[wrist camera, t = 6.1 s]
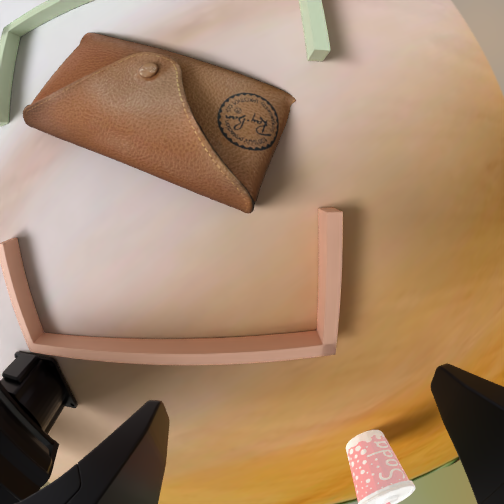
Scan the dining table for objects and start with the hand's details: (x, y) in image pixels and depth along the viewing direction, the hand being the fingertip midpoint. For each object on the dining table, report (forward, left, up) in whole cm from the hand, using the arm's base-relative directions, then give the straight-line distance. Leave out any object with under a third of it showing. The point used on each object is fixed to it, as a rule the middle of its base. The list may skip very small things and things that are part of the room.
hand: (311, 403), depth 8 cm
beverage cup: (-22, -10, -12) cm, 27 cm away
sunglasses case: (+12, +7, -13) cm, 19 cm away
